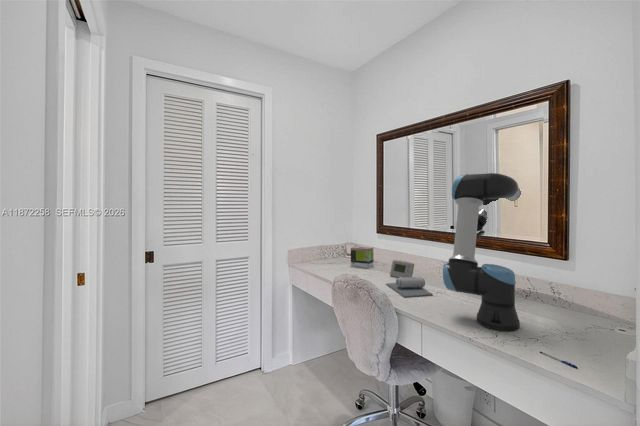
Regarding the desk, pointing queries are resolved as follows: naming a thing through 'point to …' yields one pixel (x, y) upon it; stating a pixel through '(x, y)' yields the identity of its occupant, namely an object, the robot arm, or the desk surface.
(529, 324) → the desk surface
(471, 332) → the desk surface
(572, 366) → the screwdriver
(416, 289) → the rubber mat
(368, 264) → the tea box
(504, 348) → the desk surface
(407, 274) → the digital clock
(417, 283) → the energy drink can
